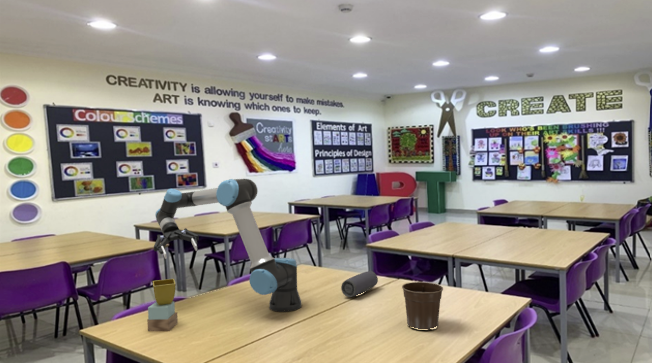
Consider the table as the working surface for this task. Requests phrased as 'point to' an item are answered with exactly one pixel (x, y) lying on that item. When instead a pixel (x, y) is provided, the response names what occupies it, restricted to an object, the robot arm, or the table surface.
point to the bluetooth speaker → (359, 283)
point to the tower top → (161, 311)
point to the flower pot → (164, 291)
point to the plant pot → (422, 304)
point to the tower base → (163, 323)
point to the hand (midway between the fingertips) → (181, 252)
